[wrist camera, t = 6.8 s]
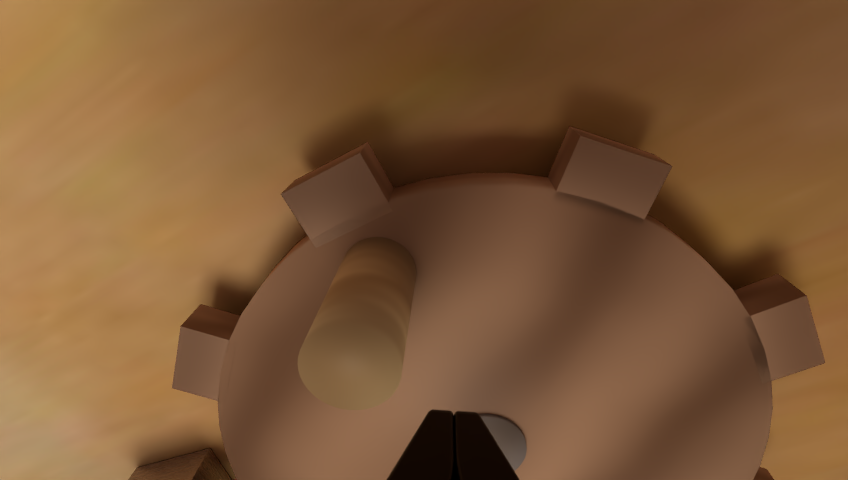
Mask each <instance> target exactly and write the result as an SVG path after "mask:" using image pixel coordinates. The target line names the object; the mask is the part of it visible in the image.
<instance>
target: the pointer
mask: <svg viewBox="0 0 848 480" xmlns="http://www.w3.org/2000/svg"><path fill="white" fill-rule="evenodd" d="M128 480H232V479H231V478H230V477H229V475H228V474H227V472H226V471H225V469H224V468H223V466H222V465H221V463H220V462H219V461H218V459H217V458H216V456H215V455H214V453H213V452H212V450H211V449H210V448H209V449H205V450H201V451H197V452H194V453H190V454H186V455H183V456H179V457H175V458H172V459H168V460H164V461H160V462H157V463H153V464H149V465H146V466H142V467H138V468H136V470H135V471H134V472H133V474H132V475H131V477H130V478H129V479H128Z"/></svg>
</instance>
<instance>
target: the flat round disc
mask: <svg viewBox="0 0 848 480" xmlns="http://www.w3.org/2000/svg"><path fill="white" fill-rule="evenodd" d="M671 168H672V166H671V165H670V164H668V163H666V162H665V161H663V160H662V159H660V158H659V157H657V156H655V155H654V154H652V153H649V152H646V151H643V150H640V149H637V148H634V147H631V146H628V145H625V144H622V143H619V142H616V141H613V140H610V139H607V138H604V137H601V136H598V135H595V134H592V133H589V132H586V131H583V130H580V129H577V128H574V127H571V126H569V128H568V130H567V133H566V135H565V137H564V140H563V142H562V145H561V147H560V149H559V152H558V154H557V156H556V159H555V161H554V163H553V166H552V168H551V170H550V173H549V175H548V177H542V176H534V175H526V174H517V173H465V174H458V175H451V176H443V177H436V178H429V179H425V180H421V181H418V182H414V183H410V184H407V185H403V186H399V187H395V188H393V186H392V184H391V182H390V181H389V179H388V177H387V175H386V173H385V172H384V170H383V168H382V166H381V164H380V163H379V161H378V159H377V157H376V156H375V154H374V152H373V150H372V148H371V147H370V145H369V143H368V142H367V143H365V144H363V145H361V146H359V147H357V148H355V149H354V150H352V151H350V152H348V153H346V154H344V155H342V156H340V157H338V158H336V159H334V160H333V161H331V162H329V163H327V164H325V165H323V166H321V167H319V168H317V169H315V170H314V171H312V172H310V173H308V174H306V175H304V176H302V177H300V178H298V179H296V180H295V181H294V182H293V183H292V184H291V185H290V186H289V187H288V188H286V189H285V190H284V191H283V192H282V193H281V195H282V197H283V198H284V200H285V201H286V203H287V205H288V206H289V208H290V209H291V211H292V212H293V214H294V215H295V217H296V218H297V220H298V221H299V223H300V225H301V226H302V228H303V229H304V231H305V232H306V234H307V236H306V237H304V238H303V239H302V240H301V241H299V242H298V243H297V244H296V245H295V246H294V247H293V248H292V249H291V250H290V251H289V252H288V253H287V255H286V256H285V257H284V258H283V259H282V260H281V261H280V262H279V263H278V264H277V265H276V266H275V267H274V269H273V270H272V271H271V273H270V274H269V275H268V277H267V278H266V280H265V281H264V282H263V284H262V285H261V286H260V288H259V289H258V291H257V292H256V294H255V295H254V296H253V298H252V299H251V301H250V302H249V304H248V305H247V307H246V308H245V310H244V311H243V313H242V314H241V316H239V315H236V314H232V313H229V312H226V311H222V310H219V309H215V308H212V307H208V306H205V305H202V304H201V305H200V306H199V307H198V308H197V309H196V310H195V311H194V312H193V313H192V314H191V316H190V317H189V318H188V319H187V320H186V321H185V322H184V323H183V324H182V325H181V328H180V335H179V342H178V350H177V357H176V364H175V371H174V378H173V385H172V388H174V389H177V390H181V391H184V392H188V393H191V394H195V395H199V396H202V397H206V398H209V399H213V400H217V401H218V411H219V426H220V430H221V435H222V439H223V443H224V448H225V452H226V455H227V457H228V460H229V462H230V465H231V467H232V470H233V472H234V475H235V477H236V479H234V480H387V478H388V476H389V475H390V473H391V471H392V470H393V468H394V467H395V465H396V463H397V462H398V460H399V458H400V457H401V455H402V454H403V452H404V450H405V449H406V447H407V445H408V444H409V442H410V441H411V439H412V437H413V436H414V434H415V432H416V431H417V429H418V428H419V426H420V424H421V423H422V421H423V420H424V418H425V416H426V415H427V413H428V412H429V411H430V410H432V409H436V410H450V411H452V412H453V415H454V413H455V412H456V411H469V412H477V413H478V414H479V415H480V416H481V418H482V420H483V421H484V423H485V424H486V426H487V428H488V429H489V431H490V432H491V434H492V436H493V437H494V439H495V440H496V442H497V444H498V445H499V447H500V449H501V450H502V452H503V453H504V455H505V457H506V458H507V460H508V461H509V463H510V465H511V466H512V468H513V469H514V471H515V473H516V474H517V476H518V478H519V479H520V480H774V479H773V477H772V476H771V475H770V473H769V472H768V470H767V469H764V468H761V467H760V464H761V461H762V458H763V454H764V451H765V448H766V445H767V442H768V438H769V432H770V424H771V417H772V409H773V406H772V384H771V381H773V380H776V379H779V378H782V377H785V376H788V375H791V374H794V373H797V372H800V371H803V370H806V369H809V368H812V367H815V366H818V365H821V364H824V363H825V360H824V357H823V353H822V349H821V346H820V342H819V339H818V335H817V331H816V328H815V324H814V321H813V317H812V313H811V310H810V306H809V303H808V299H807V295H805V294H804V293H803V292H801V291H800V290H799V289H797V288H796V287H795V286H793V285H792V284H791V283H790V282H788V281H787V280H786V279H784V278H783V277H782V276H780V275H779V274H776V275H774V276H771V277H768V278H766V279H763V280H760V281H758V282H755V283H752V284H750V285H747V286H744V287H742V288H739V289H736V290H734V291H733V289H732V288H731V287H730V286H729V285H728V284H727V283H726V282H725V281H724V279H723V278H722V277H721V276H720V275H719V274H718V273H717V272H716V271H715V270H714V269H713V268H712V267H711V265H710V264H709V263H708V262H707V261H706V260H705V259H704V258H702V257H701V256H700V255H699V254H698V253H697V252H696V251H695V250H694V249H693V248H692V247H691V246H690V245H688V244H687V243H686V242H685V241H684V240H682V239H681V238H680V237H679V236H677V235H676V234H675V233H674V232H672V231H671V230H670V229H668V228H667V227H666V226H665V225H663V224H662V223H661V222H660V221H658V220H657V219H655V218H653V217H651V216H650V215H648V212H649V210H650V208H651V206H652V204H653V202H654V200H655V198H656V197H657V195H658V193H659V191H660V189H661V187H662V185H663V183H664V181H665V179H666V177H667V176H668V174H669V172H670V170H671Z"/></svg>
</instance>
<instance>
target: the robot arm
mask: <svg viewBox="0 0 848 480" xmlns="http://www.w3.org/2000/svg"><path fill="white" fill-rule="evenodd" d="M387 480H520V479H519V478H518V476H517V474H516V473H515V471H514V469H513V468H512V466H511V465H510V463H509V461H508V460H507V458H506V457H505V455H504V453H503V452H502V450H501V449H500V447H499V445H498V444H497V442H496V440H495V439H494V437H493V436H492V434H491V432H490V431H489V429H488V428H487V426H486V424H485V423H484V421H483V420H482V418H481V416H480V415H479V414H478V413H477V412H469V411H456V412H455V413H454V415H453V412H452V411H450V410H436V409H432V410H430V411H429V412H428V413H427V415H426V416H425V418H424V420H423V421H422V423H421V424H420V426H419V428H418V429H417V431H416V432H415V434H414V436H413V437H412V439H411V441H410V442H409V444H408V445H407V447H406V449H405V450H404V452H403V454H402V455H401V457H400V458H399V460H398V462H397V463H396V465H395V467H394V468H393V470H392V471H391V473H390V475H389V476H388V478H387Z"/></svg>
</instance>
